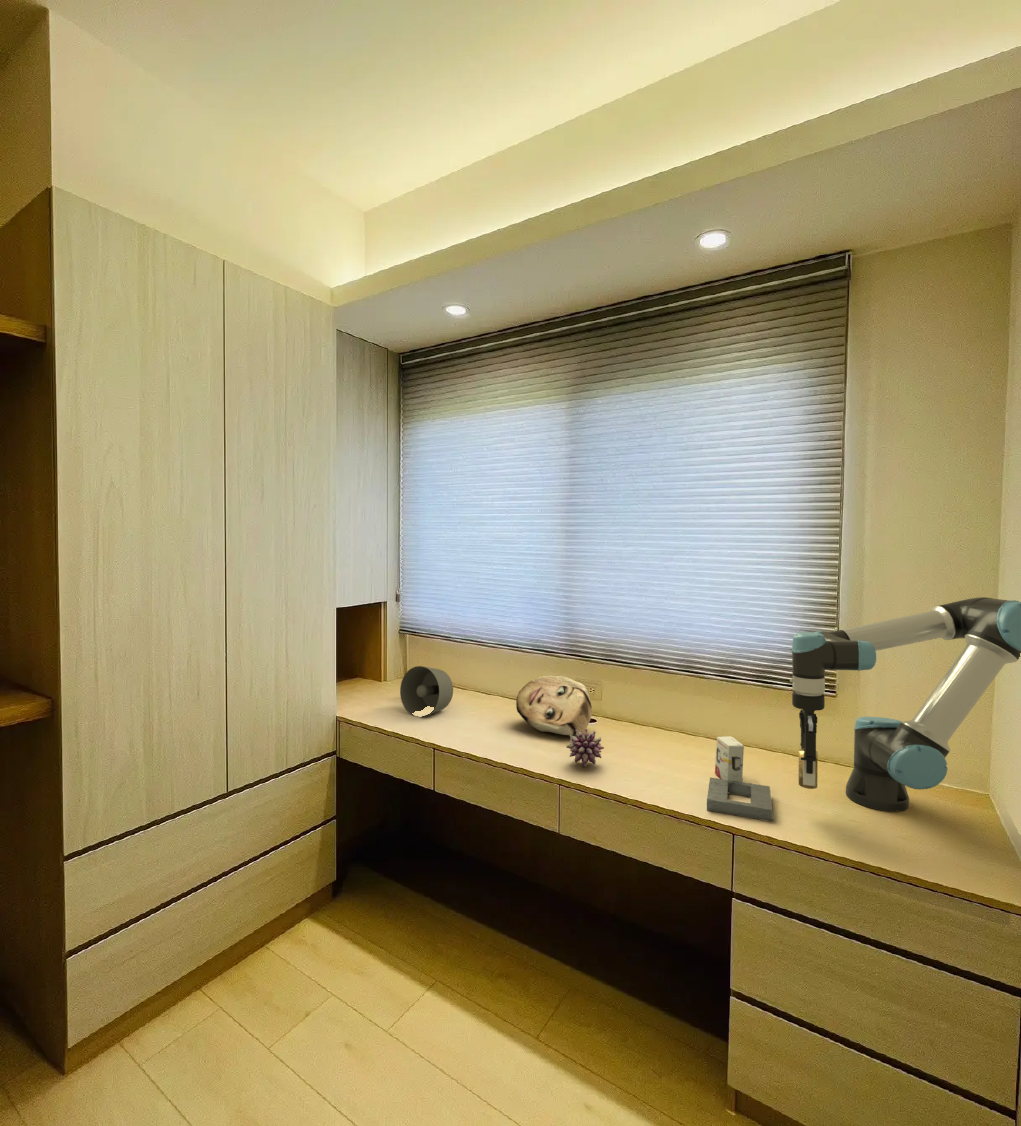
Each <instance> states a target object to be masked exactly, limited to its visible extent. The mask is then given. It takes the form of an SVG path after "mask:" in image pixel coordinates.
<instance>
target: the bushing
mask: <svg viewBox="0 0 1021 1126" xmlns="http://www.w3.org/2000/svg"><path fill="white" fill-rule="evenodd" d="M818 754H819V753H818V751H817V750H816V761H815V786H811V785H803V760H801V757H803V758H804V748H803V749H801V748H799V749H798V786H800V787H801V788H803V789H809V790H815V789H818V760H819V759H818Z"/></svg>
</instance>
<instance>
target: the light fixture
mask: <svg viewBox="0 0 1021 1126" xmlns="http://www.w3.org/2000/svg"><path fill="white" fill-rule="evenodd" d="M399 688H400V689H399V691H400V692H399V694H400V695H399V696H400V699H401V703H402V705H403V708H404V709H405V711H406V712H408V714H410V715H411V714H412V713H414V712H415V711H421V710H423V709H424V708H425V707H427V706H430V707H434V710H433V711H432V712H431V713H430V714H429V715H426V716H423V717H422V718H425V717H427V716H430V715H432V714H435V713H437V712H440V711H442V710H444V709H445V708H447V707H448V706H449V705H450V704H451V701H452V700H453V695H454V685H453V681H452V679H451V677H450V676H449V674H448V673H447V672H446V671H444V670H443V669H441V668H433V667H429V666H427V667H426V666H423V665H418V666H414V667H412V668H410V669H408V671H407V672H406V673H405V674H404V676H403V678H402V680H401V682H400V687H399Z"/></svg>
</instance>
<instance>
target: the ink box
mask: <svg viewBox="0 0 1021 1126" xmlns="http://www.w3.org/2000/svg"><path fill="white" fill-rule="evenodd" d="M715 749H716V750H715V765H714V774H715V775H716V776H717V777H718V778H719V779H724V780H731V781H737V782H743V770H744V750H745V746H744V744H742V743H741V742H740V741H739V740H737V739H736V738H734V737H733V736H729V735H727V736H716V748H715Z"/></svg>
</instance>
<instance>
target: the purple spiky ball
mask: <svg viewBox="0 0 1021 1126" xmlns="http://www.w3.org/2000/svg"><path fill="white" fill-rule="evenodd" d="M575 731H576V735H572V736H571V735H569V740H570V742H569V744H566V749H570V750H569V752H570V754H569V757H570V758H571V757H574V759H573V760H574V764H577V763H578V762H579V761H581V763H582V766H583V767H584V768H585V767H587V764H588V763H592V764H593V765H596V758H600V759H602V755H601V754H602V753H601V752H602V750H604V749H605V747H604V746H603V745H601V742H602V737H601V736H600V737H596V730H593V731H592V732H590V733H589V732H588V727H587V728H585V730H584V732H583V733H581V732H579V731H578V730H575Z"/></svg>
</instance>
